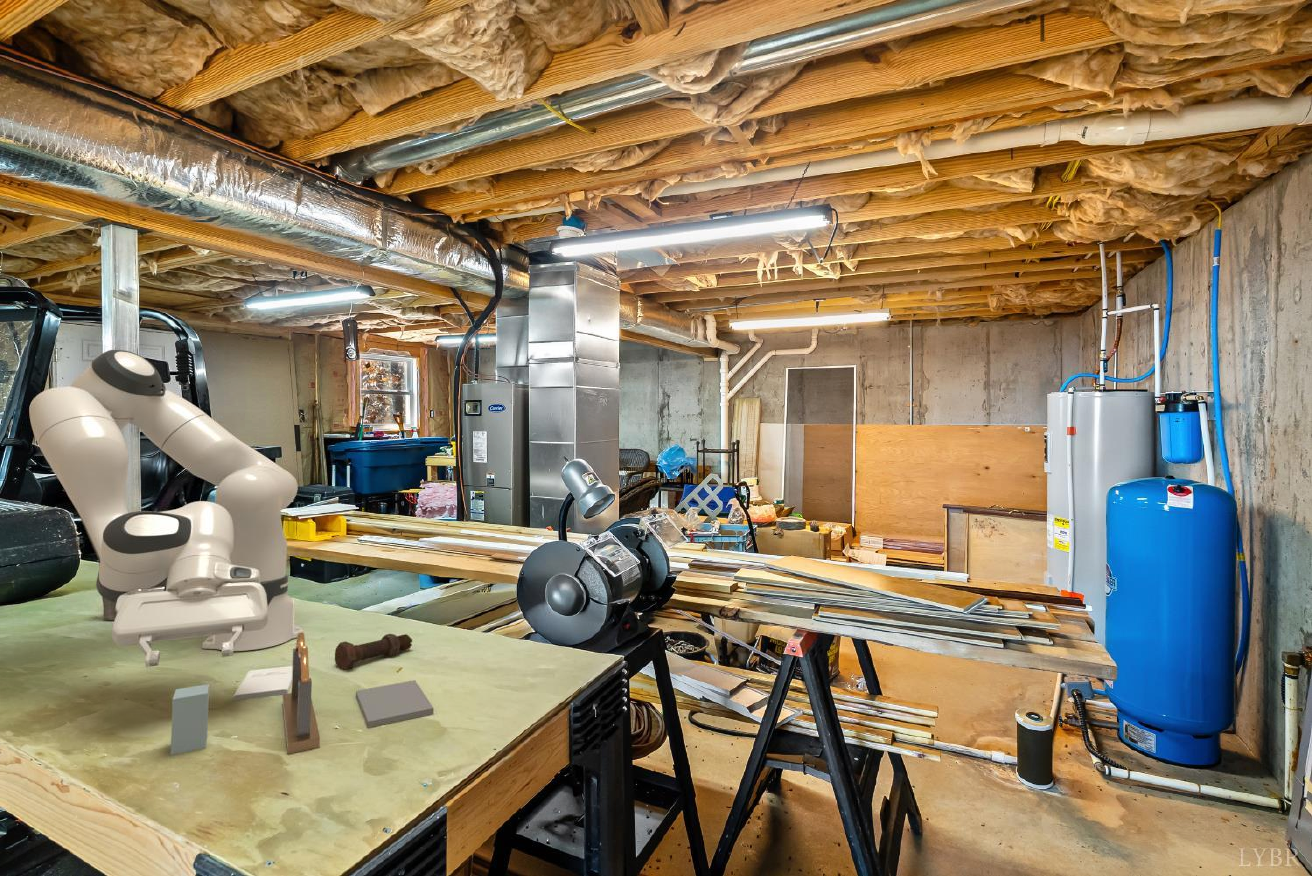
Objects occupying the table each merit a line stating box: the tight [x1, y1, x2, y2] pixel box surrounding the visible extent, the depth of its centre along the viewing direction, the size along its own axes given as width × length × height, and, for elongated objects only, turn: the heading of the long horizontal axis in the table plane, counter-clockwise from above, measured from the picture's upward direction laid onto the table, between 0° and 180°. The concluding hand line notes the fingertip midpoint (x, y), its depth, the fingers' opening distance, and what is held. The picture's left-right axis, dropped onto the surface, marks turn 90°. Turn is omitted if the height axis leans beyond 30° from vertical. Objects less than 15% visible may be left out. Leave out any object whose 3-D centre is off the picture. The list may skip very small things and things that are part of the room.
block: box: [170, 683, 210, 756], centre depth 89 cm, size 4×4×8 cm
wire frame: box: [282, 631, 321, 755], centre depth 97 cm, size 20×4×14 cm, turn 34°
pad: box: [355, 679, 434, 729], centre depth 104 cm, size 14×10×1 cm
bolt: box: [334, 633, 413, 672], centre depth 126 cm, size 6×5×15 cm
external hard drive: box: [232, 665, 292, 702], centre depth 112 cm, size 2×8×12 cm
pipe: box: [101, 596, 117, 621], centre depth 149 cm, size 6×13×8 cm, turn 89°
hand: (190, 659), depth 95 cm, fingers open, 8 cm apart
